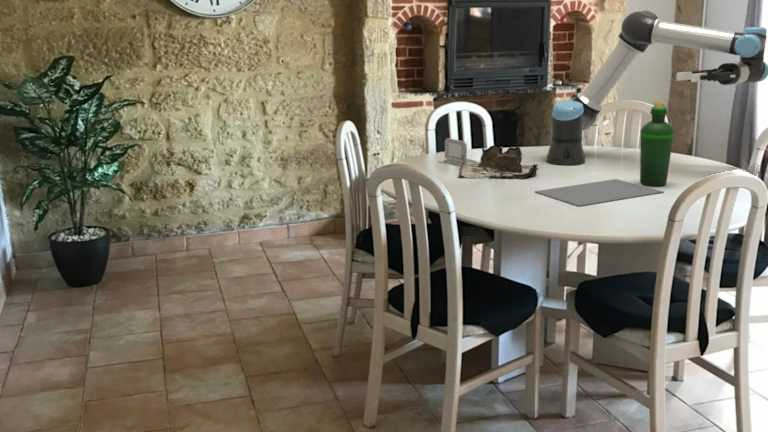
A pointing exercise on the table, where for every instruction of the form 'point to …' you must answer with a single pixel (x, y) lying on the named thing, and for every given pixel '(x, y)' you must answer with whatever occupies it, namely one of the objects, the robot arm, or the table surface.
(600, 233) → the table surface
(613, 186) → the mat
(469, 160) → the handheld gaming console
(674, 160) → the table surface
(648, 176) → the bottle
